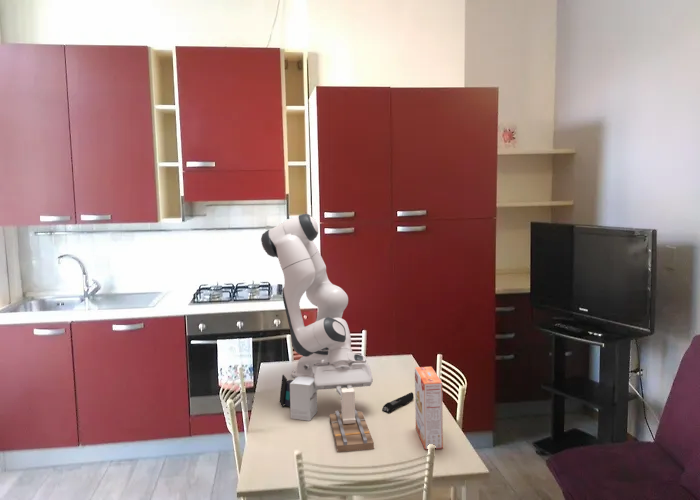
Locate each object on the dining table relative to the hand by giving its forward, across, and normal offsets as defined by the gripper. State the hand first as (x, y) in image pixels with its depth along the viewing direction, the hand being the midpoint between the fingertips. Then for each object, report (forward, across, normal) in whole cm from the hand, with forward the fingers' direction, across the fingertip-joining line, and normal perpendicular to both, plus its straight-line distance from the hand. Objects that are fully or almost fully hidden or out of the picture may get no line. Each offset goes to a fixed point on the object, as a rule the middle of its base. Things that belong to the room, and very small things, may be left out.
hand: (345, 399), depth 179 cm
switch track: (+12, 0, -3) cm, 13 cm away
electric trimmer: (0, +20, +10) cm, 22 cm away
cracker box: (+18, +24, -8) cm, 31 cm away
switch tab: (+8, 0, -1) cm, 8 cm away
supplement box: (+1, -14, +9) cm, 16 cm away
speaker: (-6, -18, +16) cm, 25 cm away
